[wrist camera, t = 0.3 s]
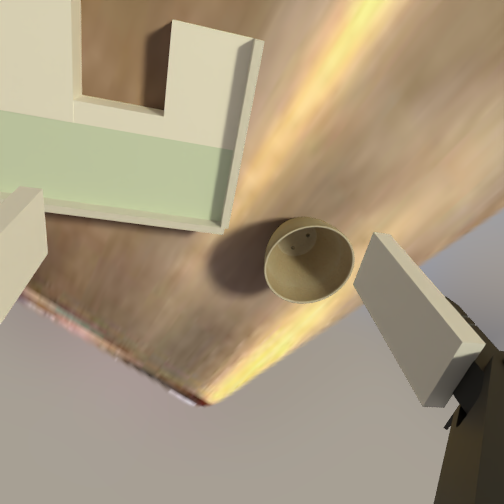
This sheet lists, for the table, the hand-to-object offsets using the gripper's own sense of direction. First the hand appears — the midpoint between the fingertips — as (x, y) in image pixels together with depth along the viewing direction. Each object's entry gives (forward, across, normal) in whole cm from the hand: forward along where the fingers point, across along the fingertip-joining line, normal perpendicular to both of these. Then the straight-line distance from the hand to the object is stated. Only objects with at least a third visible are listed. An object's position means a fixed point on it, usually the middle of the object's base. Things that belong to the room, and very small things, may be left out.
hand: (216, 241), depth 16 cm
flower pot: (+28, +13, -13) cm, 33 cm away
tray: (+28, -17, -2) cm, 33 cm away
